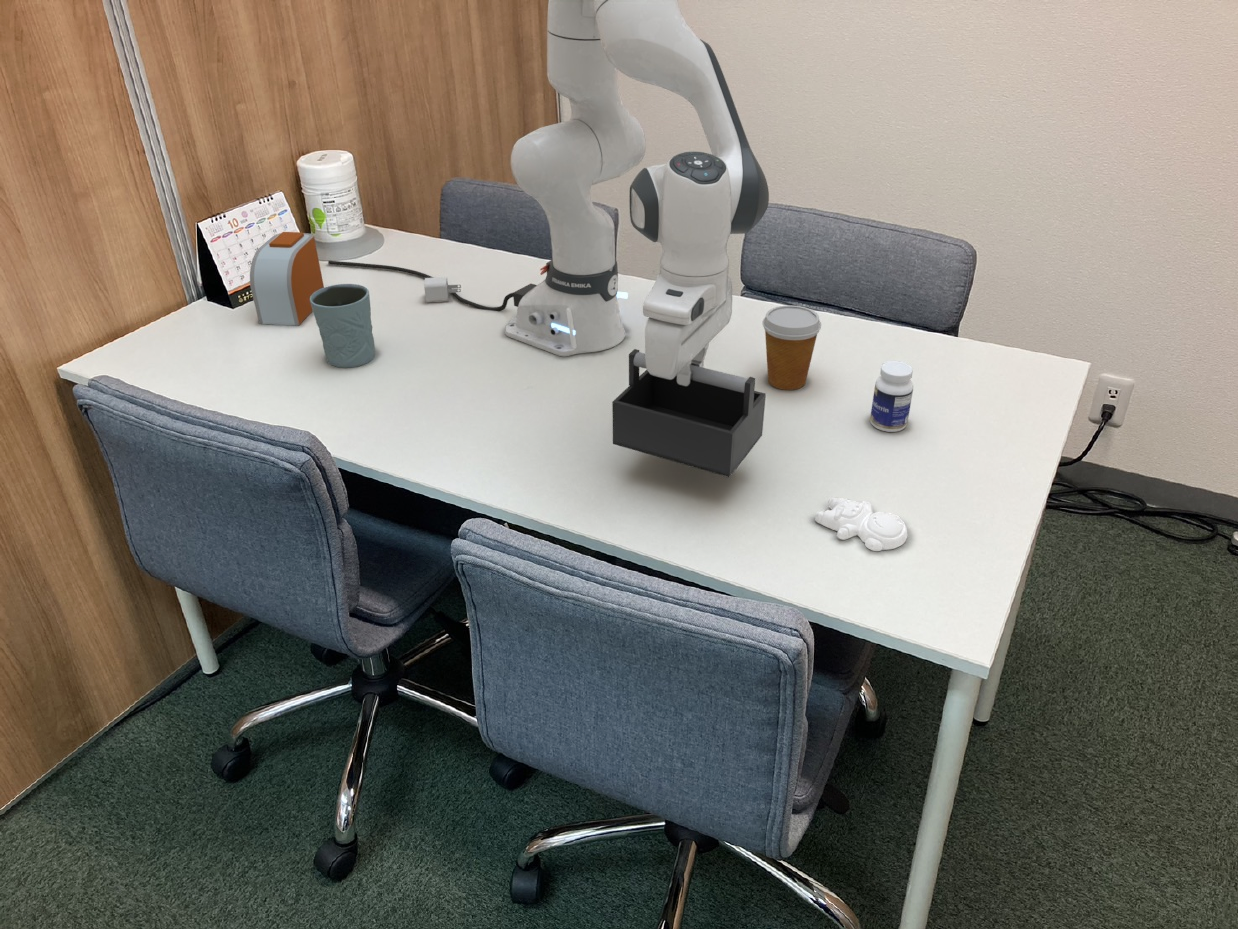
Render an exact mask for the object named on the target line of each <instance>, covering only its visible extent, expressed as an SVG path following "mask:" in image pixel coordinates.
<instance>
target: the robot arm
mask: <svg viewBox="0 0 1238 929" xmlns="http://www.w3.org/2000/svg"><path fill="white" fill-rule="evenodd" d="M546 16H547V17H546V18H547V19H546V22H547V23H546V76H547V80H548V83H549V84H550V85H551V87H552V88H553V90H555V91H556V92H557V93H558V94H559V95H560V96H563V97H564V98H566V99H567V100H568V101H569V104H570V105H569V106H570V109H571V111H570V112H571V113H570V118H569V120H566V121H561V122H558V123H553V124H550V125H546V126H541V127H539V128H537V129H535V130H533V131H531V132H529V133H527V134H526V135H524V136H523V137H521V138H519V139H518V140H517V141H516V142H515V143H514V145H513V147H512V149H511V154H510V169H511V174H512V176H513V179H514V181H515V183H516V184H517V186H518V187H519V188H520V189H521V191H523V192H524V193H525V194H526V195H528V196H530V197H532V198H533V199H534V200H535V201H536V202H537V203H538V204H539V206H540V207H541V208H542V210H543V212H544V215H545V216H546V219H547V222H548V226H549V233H550V240H551V241H550V243H551V254H552V255H551V256H552V259H551V260H549V261H548V262H546V263H545V265H544V266H542V267H541V268H540V269H539V270H540V271H541V272H540V276H542V275H544V274H546V276H545V279H544V280H543V281H541V282H539V283H537V284H535V283H529V284H527V285H525V286H523V287H521V288H519V289H517V290H515V291H514V292H510V293H508V294H507V295H505V297H504V298H503V301H502V303H501V304H502V305H500V306H493V307H492V306H486V305H482V304H479V303H476V302H474V301H472V300H471V301H470V300H468V299H465V298H463V297H462V296H460V295H459V294H458V293H457V292H456V293H450V294H451V295H452V296H453V297H454V298H455V299H456V300H457V301H458V302H460V303H462V304H465V305H467V306H469V307H472V308H475V309H479V310H485V311H493V312H500V311H504V310H505V309H506V308H507V305H508V301H509V300H510V299H511V298H513V306H514V307H516V308H517V310H516V315H515V316H514V317H512V318H511V319H510V320H509V321H508V323H507V324H506V326H505V331H504V332H505V333H504V335H505V336H506V337H509V338H510V339H514V340H516V341H519V342H522V343H524V344H527V345H530V346H532V347H535V348H537V349H540V350H543V351H545V352H548V353H550V354H554V355H556V356H559V357H570V356H574V355H578V354H584V353H596V352H602V351H605V350H608V349H612V348H614V347H616V346H618V345H619V344H620V343H622V341H624V339H625V338H626V330H625V328H624V323H623V321H622V317H621V313H620V307H619V306H620V305H619V299H628V298H629V297H628V292H623V291H618V289H619V270H618V268H619V267H618V260H616V244H615V243H616V240H615V223H614V220H613V218H612V216H610V214H609V213H608V212H607V211H606V210H604V209H603V208H601V207H600V206H596V205H594V203H593V200H592V195H591V189H592V186H595V185H598V184H602V183H605V182H608V181H611V180H614V179H617V178H620V177H622V176H624V175H625V174H627V173H629V172H630V171H632V170H633V169H634V168H637V167H638V166H639V165H640V164H641V163H642V162H643V160H644V157H645V154H646V148H647V140H646V135H645V132H644V129H643V127H642V125H641V123H640V121H639V120H638V119H637V118H636V116H634V115H633V114H631V113H630V112H629V111H628V110H627V108H626V106H625V104H624V101H623V99H622V96H621V93H620V87H619V81H618V78H619V77H618V71H619V72H620V73H622V74H623V75H625V76H626V77H628V78H630V79H632V80H635V81H637V82H640V83H644V84H648V85H652V86H655V87H658V88H662V89H665V90H667V91H670V92H672V93H675V94H676V95H679V96H680V97H682V98H683V99H685V100H686V101H687V102H689V104H690V105H691V106H693V108H694V109H695V111H696V113H697V116H698V119H699V121H700V125H701V127H702V130H703V132H704V135H705V137H706V141H707V144H708V146H709V149H710V151H711V153H709V152H705V151H685V152H680V153H677V154H675V155H674V156H672V157H671V158H670V159H669V160H668V161H667V162H666V163H660V164H654V165H650V166H647V167H643V168H642V169H641V170H640V171H639V172H638V173H637V175H636V176H635V178H634V179H633V181H632V182H631V184H630V186H629V218H630V223H631V226H632V227H633V228H634V229H635V231H637V232H639V233H640V234H641V235H642V236H644V237H645V238H647V239H648V240H649V241H651V242H652V243H658V244H660V245H661V249H662V251H661V256H660V259H659V273H658V274H657V276H656V278H655V281H654V284H653V286H652V287H651V290H650V291H649V293H648V295H647V296H646V298H645V299H644V300H643V304H642V315H643V316H644V317H646V318H648V319H647V321H646V324H645V330H644V353H645V361H646V368H647V369H646V370H648V372H649V373H650V374H651V375H653V376H657V377H660V378H665V379H670V380H671V379H673V378H674V377H675V376H676V375H677V383H678V384H679V385H683V386H688V385H689V384H690V383H691V382H692V380H693V371H692V370H690V366H689V365H694V366H698V367H702V368H704V362H705V359H706V355H707V352H708V350H709V344H710V342H711V341H712V340H714V338H715V337H717V335H718V334H720V333H721V331H722V330H723V329H724V328H725V327H726V326H727V325H728V324H730V321H731V319H732V314H733V283H732V280H731V278H730V277H729V270H730V258H729V253H728V242H729V239H730V236H731V235H745V234H747V233H749V232H751V231H752V230H753V229H754V228H755V227H756V226H757V224H758V223H760V221H761V220H762V218H764V215H765V213H766V212H767V210H768V208H769V203H770V193H769V192H770V191H769V185H768V180H767V178H766V176H765V172H764V171H763V169H762V167H761V164H760V163H759V161H758V159H757V158H756V156H755V154H754V152H753V150H752V147H751V145H750V143H749V140H748V137H747V135H746V132H745V130H744V127H743V123H742V121H741V118H740V116H739V113H738V111H737V108H736V105H735V102H734V100H733V99H734V98H733V96H732V93H731V91H730V88H729V85H728V83H727V81H726V80H727V79H726V77H725V75H724V72H723V70H722V67H721V65H720V62H719V60H718V57H717V56H716V53H715V52H714V50H713V48H712V46H711V45H710V44H709V43H708V42H706V41H704V40H703V39H701V38H699V36H697V35H696V34H695V32H694V31H693V30H692V28H691V27H690V26H689V25H688V22H687V21H686V19H685V18H684V16H683V13H682V12H681V9H680V6H679V2H678V0H548V3H547V15H546ZM327 264H328V265H331V266H346V267H355V268H357V267H358V268H368V269H380V270H389V271H395V272H401V273H406V274H411V275H414V276H417V277H421V278H424V279H425V278H435V277H433V276H431V275H429V274H427V273H425V272H421V271H417V270H414V269H409V268H405V267H399V266H394V265H387V264H386V265H385V264H375V263H364V262H355V261H354V262H351V261H341V260H340V261H339V260H328V261H327ZM618 298H619V299H618Z"/></svg>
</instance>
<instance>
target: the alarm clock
mask: <svg viewBox="0 0 1238 929" xmlns="http://www.w3.org/2000/svg"><path fill="white" fill-rule="evenodd" d="M320 264H321V263H320V259H319V254H318V251H317V245H316V238H315V235H314V234H312V233H306V232H301V231H282V232H280V233H276V234H274V235H272V237H271V238H269V239H268V240H267V241H266V242H264V243H263V244H262V245H261V246H260V247H259V248H257V249H256V251H255V252H254V255H253V257H252V260H251V264H250V269H249V286H250V292H251V295H252V299H253V304H254V307H255V312H256V316H257V320H258V324H259V325H276V326H277V325H278V326H295V327H296V326H300V325H301V324H302V323H303V322H304V321H305V320H306V319H307V318H308V316H309V315H310V314H311V313H312V312H313V309H312V306H311V303H310V296H311V295H312V294H313V293H314V292H316V291H318V290H319V289H322V288H324V287H325V286H324V280H323V275H322V269H321V265H320Z"/></svg>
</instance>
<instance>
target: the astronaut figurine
mask: <svg viewBox="0 0 1238 929" xmlns="http://www.w3.org/2000/svg"><path fill="white" fill-rule="evenodd" d="M828 507H829V509H826V510H819V511H817V512H815V514H814V520H815V522H816V523H817V524H820V525H821V526H824V527H825V528H828V529H830V530H833V531H836V537H837V538H838V539H839V540H841V541H844V540H848V539H850V538H853V537H856V536H858V537H859V539H860V540H861V541H862V542H863V543H865V544H864V545H865V547H866V548H867V549H868V550H870V551H872V552H881V551H885V550H887V551H888V550H893V549H897V548H899V547H901V546H903V545H904V544H905V542H906V541H907V539H908V528H907V525H906V523H905V522H904V521H903V520H902V518H901V517H900V516H899V515H897V514H896V513H892V512H891V513H890V512H886V511H875V512H874V509H873V505H872V504H871V503H870V502H869V501H867V500H862V501H861V502H860V501H857V500H853V499H846V498H843V497H839V498H838V497H832V498H830V499H829V500H828Z"/></svg>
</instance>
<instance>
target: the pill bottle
mask: <svg viewBox="0 0 1238 929" xmlns="http://www.w3.org/2000/svg"><path fill="white" fill-rule="evenodd" d="M913 371H914V368H913V367H912V366H911V365H910V364H909V363H907V362H905V361H899V360H887V361H885V362H883V363H882V365H881V366H880V372H879V374H880V376H878V377H877V379H876V380H875V383H874V390H873V397H872V403H871V410H870V417H869V421H870V424H871V425H872V426H873V427H874V428H875V429H878V430H880V431H883V432H888V433H894V432H900V431H902V430H904V429H906V427H907V425H908V422H909V417H910V412H911V411H910V410H911V404H912V399H913V392H914V383H913V381H912V380H911V379H912V378H913Z"/></svg>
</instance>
